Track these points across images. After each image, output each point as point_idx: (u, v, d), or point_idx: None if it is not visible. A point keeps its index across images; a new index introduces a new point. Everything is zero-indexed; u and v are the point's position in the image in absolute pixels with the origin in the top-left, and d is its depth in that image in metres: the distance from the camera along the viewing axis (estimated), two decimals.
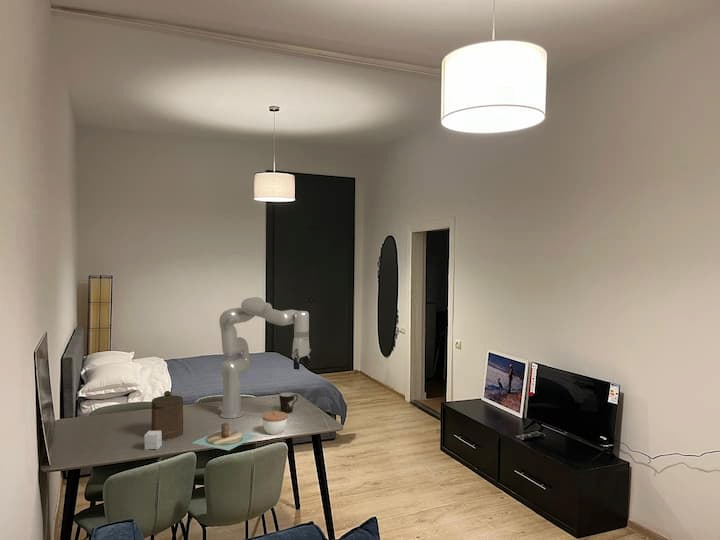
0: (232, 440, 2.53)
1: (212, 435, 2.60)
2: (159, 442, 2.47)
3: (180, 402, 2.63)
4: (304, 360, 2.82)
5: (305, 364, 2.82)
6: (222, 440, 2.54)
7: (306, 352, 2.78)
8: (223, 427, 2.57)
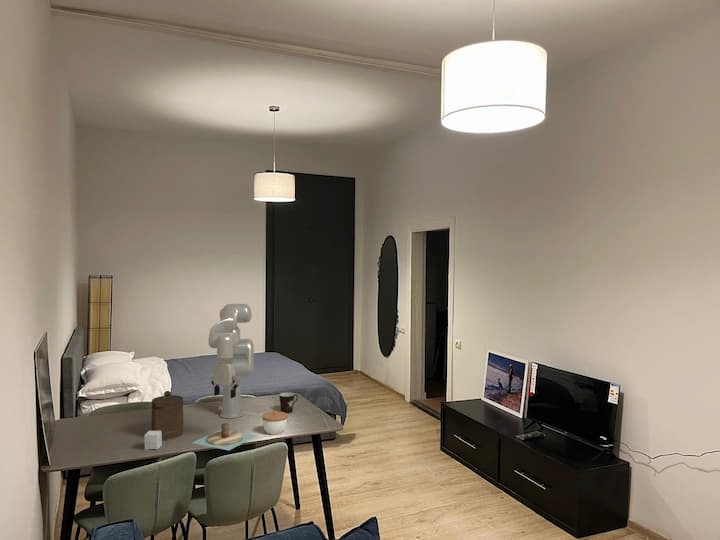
0: (232, 440, 2.53)
1: (212, 435, 2.60)
2: (159, 442, 2.47)
3: (180, 402, 2.63)
4: (216, 389, 2.58)
5: (217, 393, 2.59)
6: (222, 440, 2.54)
7: None
8: (223, 427, 2.57)
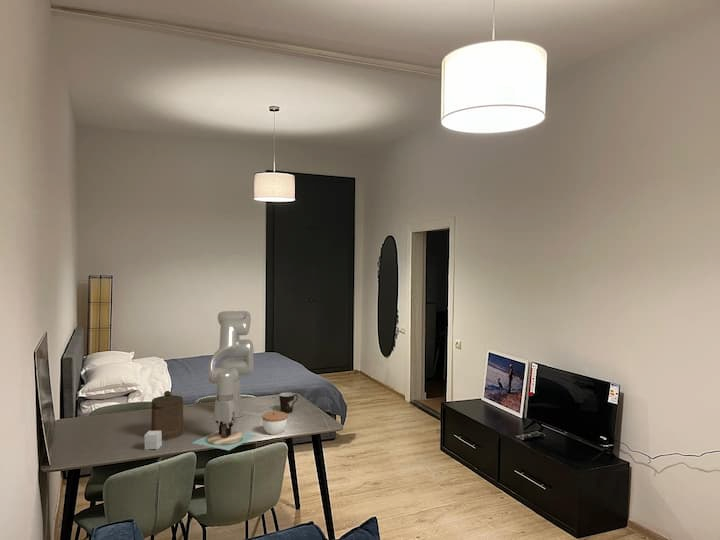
0: (232, 440, 2.53)
1: (212, 435, 2.60)
2: (159, 442, 2.47)
3: (180, 402, 2.63)
4: None
5: None
6: (222, 440, 2.54)
7: None
8: (223, 427, 2.57)
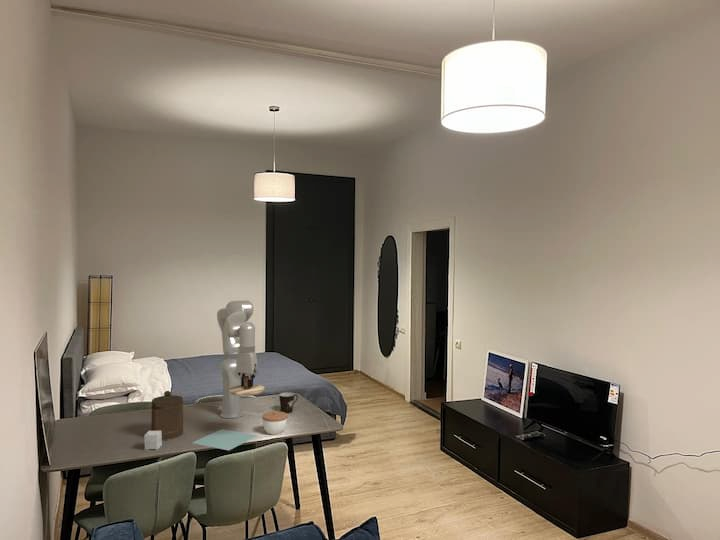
0: (254, 391, 2.57)
1: (234, 387, 2.64)
2: (159, 442, 2.47)
3: (180, 402, 2.63)
4: None
5: None
6: (244, 391, 2.57)
7: None
8: (245, 379, 2.60)
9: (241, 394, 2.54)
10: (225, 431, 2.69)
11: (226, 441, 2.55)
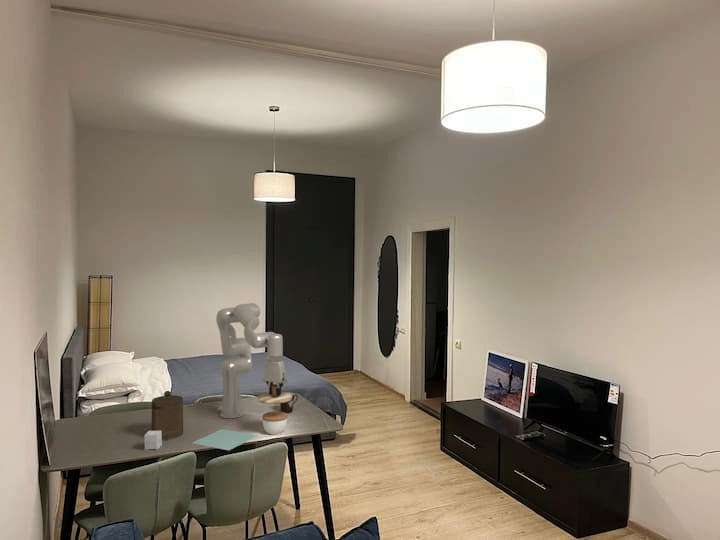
0: (283, 399, 2.63)
1: (262, 395, 2.70)
2: (159, 442, 2.47)
3: (180, 402, 2.63)
4: (271, 389, 2.68)
5: None
6: (273, 399, 2.63)
7: None
8: (273, 387, 2.66)
9: (271, 402, 2.60)
10: (225, 431, 2.69)
11: (226, 441, 2.55)
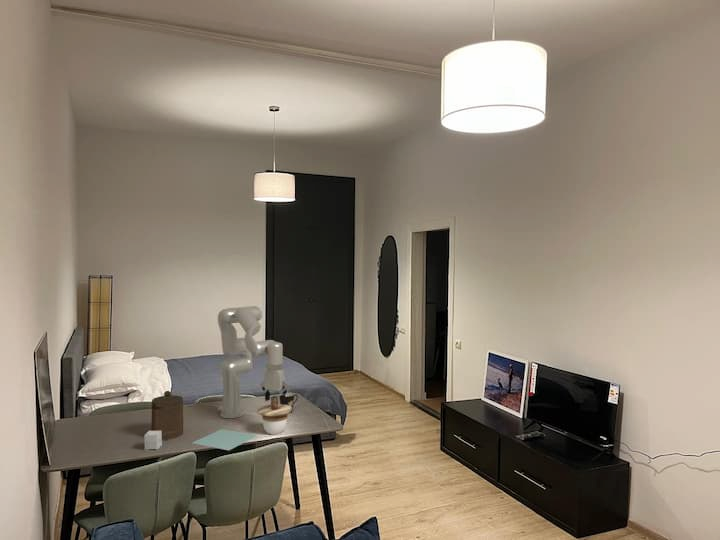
0: (282, 411, 2.64)
1: (262, 408, 2.70)
2: (159, 442, 2.47)
3: (180, 402, 2.63)
4: (267, 395, 2.69)
5: (267, 399, 2.70)
6: (272, 411, 2.64)
7: None
8: (273, 399, 2.67)
9: (270, 415, 2.60)
10: (225, 431, 2.69)
11: (226, 441, 2.55)
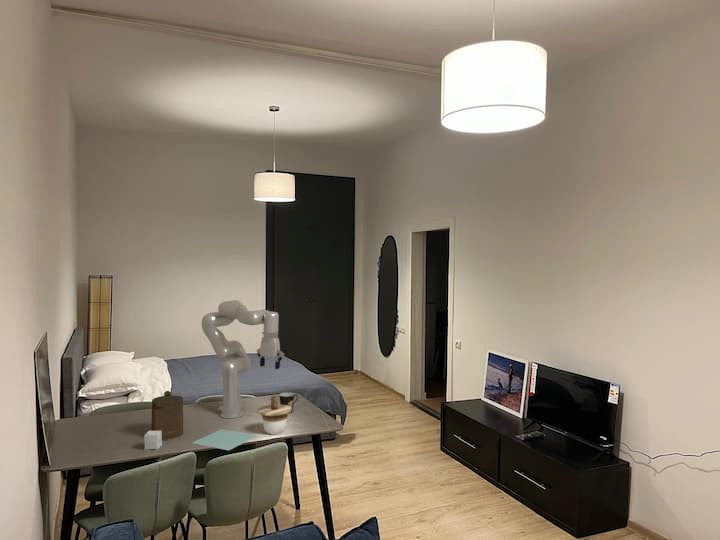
0: (282, 411, 2.64)
1: (262, 408, 2.70)
2: (159, 442, 2.47)
3: (180, 402, 2.63)
4: (262, 361, 2.83)
5: (262, 364, 2.83)
6: (272, 411, 2.64)
7: None
8: (273, 399, 2.67)
9: (270, 414, 2.60)
10: (225, 431, 2.69)
11: (226, 441, 2.55)
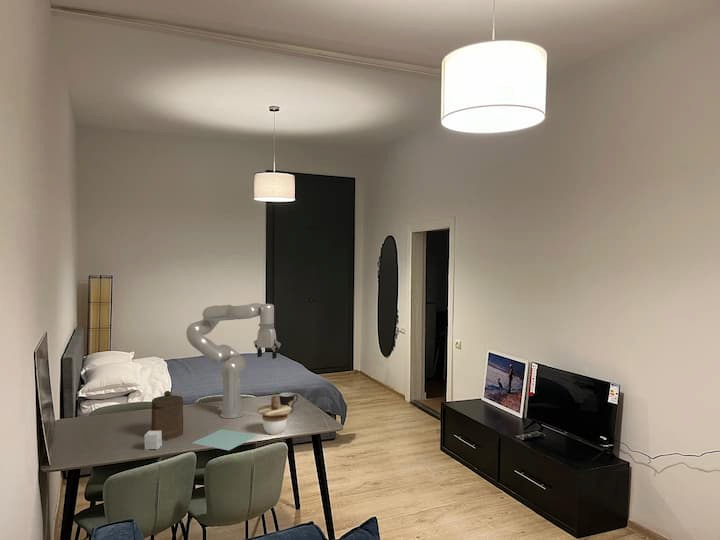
0: (283, 411, 2.64)
1: (262, 408, 2.70)
2: (159, 442, 2.47)
3: (180, 402, 2.63)
4: (259, 352, 2.94)
5: (260, 355, 2.94)
6: (273, 411, 2.64)
7: None
8: (273, 399, 2.67)
9: (271, 414, 2.60)
10: (225, 431, 2.69)
11: (226, 441, 2.55)
